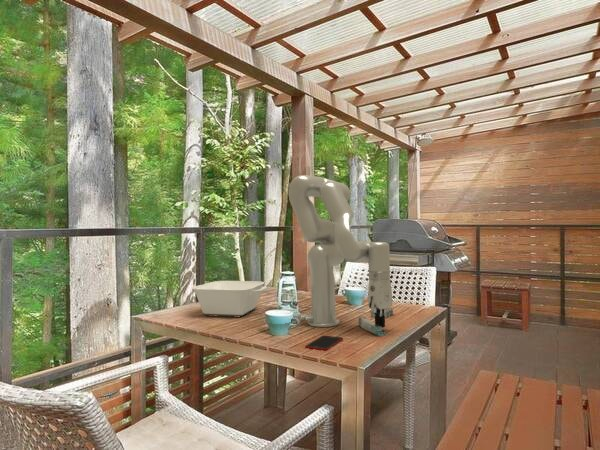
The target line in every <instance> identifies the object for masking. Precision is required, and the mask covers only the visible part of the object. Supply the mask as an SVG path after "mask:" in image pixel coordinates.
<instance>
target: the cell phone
mask: <svg viewBox="0 0 600 450" xmlns="http://www.w3.org/2000/svg"><path fill="white" fill-rule="evenodd" d="M343 340H344V338H343V337H342V336H341V337H340V336H334V335H333V336H331V335H321V336H319V337H318V338H316V339H314V340H312V341H311V342H310V343H308V344H306V345H305V346H304V348H305V349H306V348H309V349H308V350H313V349H315V350H314V351H321V350H323V351H322V352H327V351H329V350H330V349H332V348H333V347H335V346H336V345H338V344H339V343H341V342H343Z"/></svg>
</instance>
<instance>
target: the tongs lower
mask: <svg viewBox="0 0 600 450" xmlns="http://www.w3.org/2000/svg"><path fill="white" fill-rule="evenodd" d="M361 319H367V318H366V317H365V316H359V317H358V327H359V328H362V329H364V330H366V331H368V332H370V333H372V334H374V335H375V336H377V337H383V336H384V337H385V336H386V331H385V330H383V329H382V331H373V330H372V329H371V328H369V327H367V326H366V325H364V324H362V323H361Z"/></svg>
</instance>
